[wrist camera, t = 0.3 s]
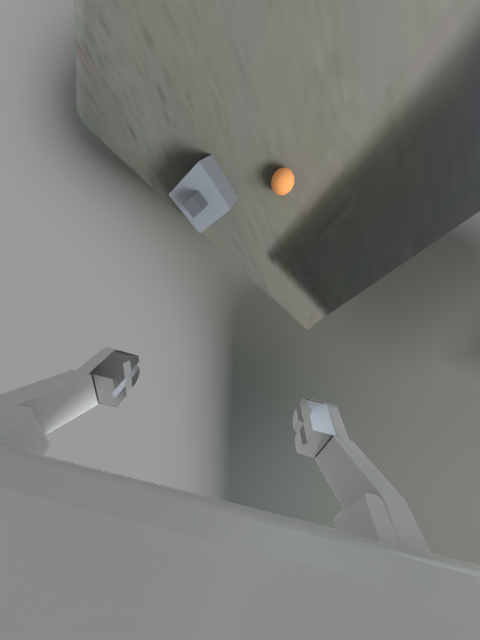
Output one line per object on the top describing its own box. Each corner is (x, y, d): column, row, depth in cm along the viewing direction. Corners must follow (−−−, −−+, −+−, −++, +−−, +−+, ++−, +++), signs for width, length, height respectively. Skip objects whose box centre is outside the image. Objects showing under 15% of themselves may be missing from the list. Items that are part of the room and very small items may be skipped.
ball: (288, 159, 42) (287, 163, 39) (298, 182, 45) (298, 188, 41) (268, 175, 45) (265, 181, 42) (278, 196, 47) (277, 203, 44)
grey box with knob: (211, 154, 44) (191, 165, 36) (238, 197, 49) (226, 215, 41) (183, 184, 50) (159, 200, 41) (210, 220, 55) (194, 240, 46)
